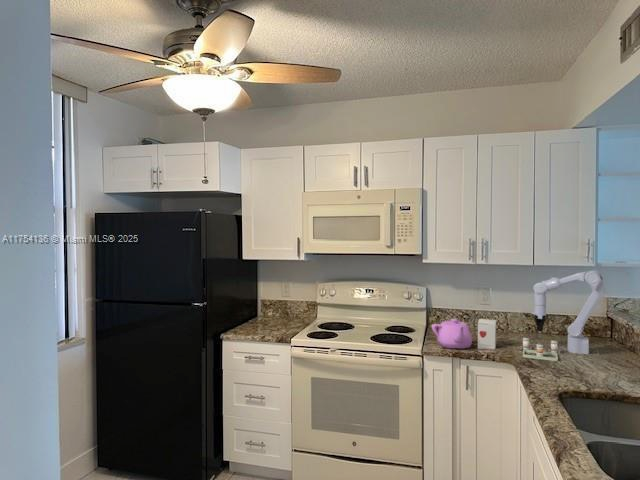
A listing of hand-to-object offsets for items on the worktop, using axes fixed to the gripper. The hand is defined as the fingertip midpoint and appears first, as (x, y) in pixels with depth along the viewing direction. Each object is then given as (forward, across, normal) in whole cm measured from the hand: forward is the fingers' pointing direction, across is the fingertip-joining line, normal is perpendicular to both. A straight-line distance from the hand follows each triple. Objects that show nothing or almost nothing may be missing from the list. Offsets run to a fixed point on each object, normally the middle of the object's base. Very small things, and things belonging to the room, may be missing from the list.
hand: (539, 329), depth 232 cm
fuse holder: (+10, +11, 0) cm, 15 cm away
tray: (+10, +21, 0) cm, 23 cm away
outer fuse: (+9, +11, -6) cm, 16 cm away
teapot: (+10, +18, -42) cm, 46 cm away
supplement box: (+10, +13, -26) cm, 30 cm away
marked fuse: (+9, +21, 0) cm, 23 cm away
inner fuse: (+9, +11, +6) cm, 16 cm away
